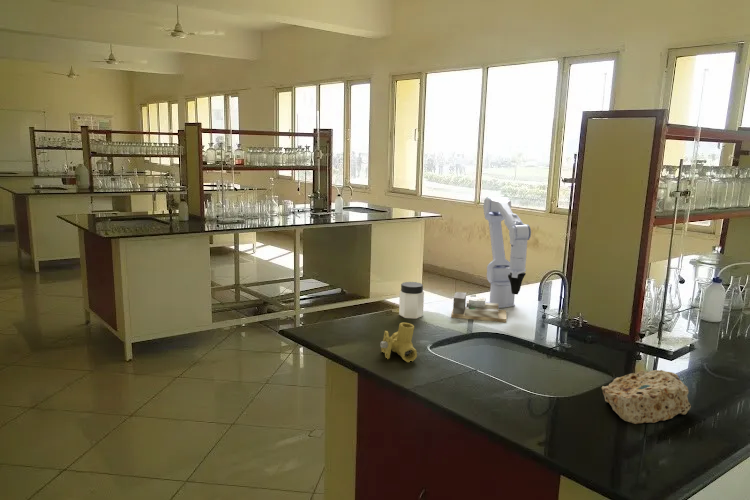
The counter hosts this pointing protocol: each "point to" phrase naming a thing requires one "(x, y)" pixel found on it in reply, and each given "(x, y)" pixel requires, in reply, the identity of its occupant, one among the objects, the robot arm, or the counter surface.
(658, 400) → the rock
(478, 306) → the grey box
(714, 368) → the counter surface
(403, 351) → the ball valve
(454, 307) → the stand
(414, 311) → the jar
